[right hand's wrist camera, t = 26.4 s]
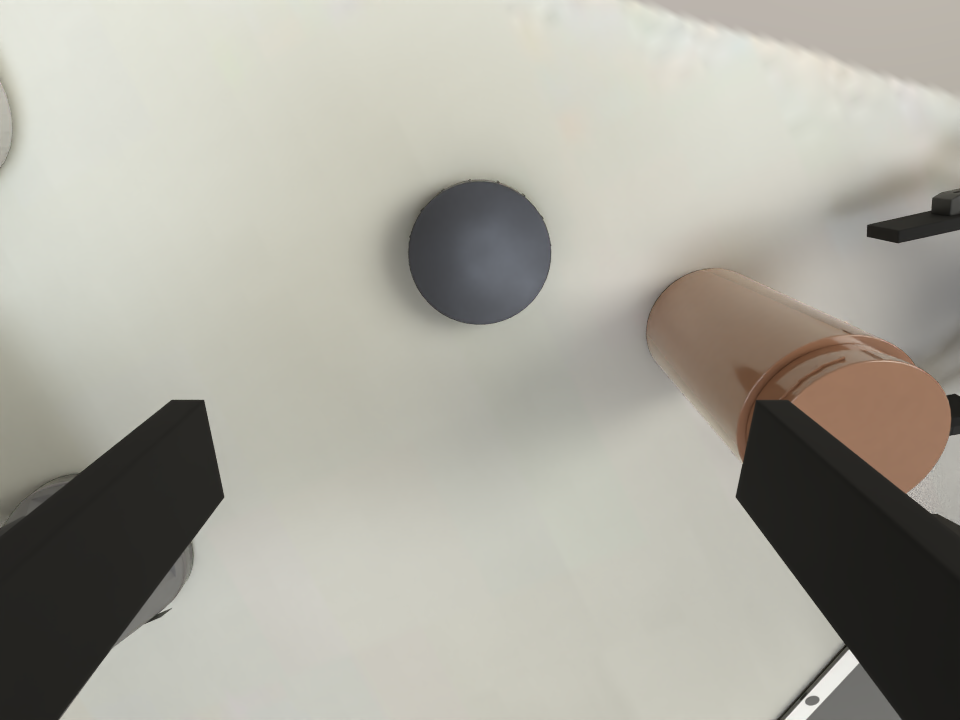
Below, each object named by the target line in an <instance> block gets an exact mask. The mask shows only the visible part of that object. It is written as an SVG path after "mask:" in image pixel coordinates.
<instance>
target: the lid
mask: <svg viewBox="0 0 960 720" xmlns="http://www.w3.org/2000/svg"><path fill="white" fill-rule="evenodd" d="M408 255H409V266H410V270H411V273H412V277H413V280H414V282H415V284H416V286H417V288H418V289H419V291H420V293H421V294H422V296H423V297H424V298H425V299H426V300H427V302H428V303H429V304H430V305H432V306H433V307H434V308H435V309H436V310H438V311H439V312H440V313H442V314H443V315H445V316H447V317H449V318H451V319H454V320H456V321H459V322H463V323H468V324H491V323H496V322H500V321H503V320H506V319H508V318H511V317H512V316H514V315H516V314H518V313H519V312H521V311H522V310H523V309H525V308H526V307H527V306H528V305H529V304H530V303H531V302H532V301H533V300H534V299H535V297H536V296H537V295H538V293H539V292H540V290H541V289H542V287H543V285H544V283H545V280H546V278H547V275H548V272H549V268H550V262H551V244H550V238H549V234H548V231H547V228H546V225H545V223H544V221H543V217H542V216H541V215H540V214H539V212H538V211H537V210H536V208H535V207H534V206H533V205H532V204H531V203H530V202H529V201H528V200H527V199H526V198H525V195H524V194H520V193H519V192H518V191H516V190H514V189H513V188H511V187H509V186H507V185H504V184H502V183H499V181H497V182H495V181H489V180H471V179H469V181H464V182H461V183H458V184H455V185H453V186H451V187H448V188H447V189H443V190H442V192H440V193H439V194H438V195H437V196H435V197H434V198H433V199H432V200H431V201H430V202H429V203H428V204H427V205H426V206H425V208H423V209H422V210H421V213H420V215H419V216H418V218H417V220H416V222H415V224H414V226H413V229H412V232H411V235H410V241H409V250H408Z"/></svg>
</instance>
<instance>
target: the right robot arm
mask: <svg viewBox="0 0 960 720" xmlns="http://www.w3.org/2000/svg"><path fill="white" fill-rule="evenodd" d="M223 498H224V493H223V488H222V484H221V479H220V474H219V469H218V464H217V460H216V455H215V450H214V445H213V440H212V436H211V431H210V426H209V421H208V416H207V412H206V407H205V402H204V400H171V401H170V402H169V403H167V404H166V405H165V406H164V407H162V408H161V409H160V410H159V411H157V412H156V413H155V414H154V415H152V416H151V417H150V418H149V419H147V420H146V421H145V422H144V423H142V424H141V425H140V426H138V427H137V428H136V429H135V430H133V431H132V432H131V433H130V434H128V435H127V436H126V437H125V438H123V439H122V440H121V441H120V442H118V443H117V444H116V445H115V446H113V447H112V448H111V449H110V450H108V451H107V452H106V453H105V454H103V455H102V456H101V457H100V458H98V459H97V460H96V461H95V462H93V463H92V464H91V465H90V466H88V467H87V468H86V469H85V470H83V471H82V472H81V473H79V474H74V475H67V476H63V477H60V478H57V479H54V480H52V481H50V482H48V483H46V484H44V485H43V486H41V487H40V488H39V489H37V490H36V491H35V492H33V493H32V494H31V495H29V496H28V497H27V498H26V499H24V500H23V501H22V502H21V503H20V504H19V505H18V506H17V508H16V509H15V510H14V511H13V513H12V514H11V515H10V517H9V518H8V520H7V521H6V523H5V525H4V526H3V527H1V528H0V720H59V719H60V718H61V717H62V715H63V714H64V713H65V711H66V710H67V709H68V707H69V706H70V704H71V703H72V702H73V700H74V699H75V698H76V696H77V695H78V694H79V692H80V691H81V689H82V688H83V687H84V685H85V684H86V683H87V681H88V680H89V679H90V677H91V676H92V674H93V673H94V672H95V670H96V669H97V668H98V666H99V665H100V663H101V662H102V661H103V659H104V658H105V657H106V656H107V654H108V653H109V652H110V650H111V649H112V648H113V647H114V646H116V645H117V644H118V643H120V642H121V641H122V640H124V639H125V638H126V637H128V636H129V635H130V634H132V633H133V632H134V631H136V630H137V629H138V628H139V627H141V626H142V625H143V624H146V623H148V622H150V621H153V620H155V619H157V618H160V617H162V616H163V615H164V614H165V613H167V612H168V611H169V610H170V609H169V610H166V611H164V612H162V613H159V612H161V611H162V610H163V609H164V608H165V607H166V606H167V605H168V604H169V603H170V602H172V600H173V599H174V598H175V597H176V596H177V594H178V593H179V591H180V590H181V588H182V587H183V585H184V584H185V582H186V581H187V579H188V577H189V575H190V572H191V569H192V564H193V550H192V545H191V541H192V540H193V538H194V537H195V536H196V534H197V533H198V532H199V530H200V529H201V528H202V526H203V525H204V524H205V522H206V521H207V520H208V518H209V517H210V516H211V514H212V513H213V512H214V510H215V509H216V508H217V506H218V505H219V504H220V502H221V501H222V500H223ZM736 498H737V500H738V501H739V502H740V504H741V505H742V506H743V508H744V509H745V510H746V512H747V513H748V514H749V516H750V517H751V518H752V520H753V521H754V522H755V524H756V525H757V526H758V528H759V529H760V530H761V532H762V533H763V534H764V536H765V537H766V538H767V540H768V541H769V542H770V544H771V545H772V546H773V548H774V549H775V550H776V552H777V553H778V555H779V556H780V557H781V559H782V560H783V561H784V563H785V564H786V565H787V567H788V568H789V569H790V571H791V572H792V573H793V575H794V576H795V577H796V579H797V580H798V581H799V583H800V584H801V585H802V587H803V588H804V589H805V591H806V592H807V593H808V595H809V596H810V597H811V599H812V600H813V601H814V603H815V604H816V605H817V607H818V608H819V609H820V611H821V612H822V613H823V615H824V616H825V618H826V619H827V620H828V622H829V623H830V624H831V626H832V627H833V628H834V630H835V631H836V632H837V634H838V635H839V636H840V638H841V639H842V640H843V642H844V643H845V644H846V646H847V647H848V648H849V650H850V651H851V652H852V654H853V655H854V656H855V658H856V659H857V660H858V662H859V663H860V664H861V666H862V667H863V668H864V670H865V671H866V672H867V674H868V675H869V676H870V678H871V679H872V681H873V682H874V683H875V685H876V686H877V687H878V689H879V690H880V691H881V693H882V694H883V695H884V697H885V698H886V699H887V701H888V702H889V703H890V705H891V706H892V707H893V709H894V710H895V711H896V713H897V714H898V715H899V717H900V718H901V719H902V720H960V526H959V525H957V524H956V523H954V522H952V521H950V520H948V519H946V518H944V517H942V516H940V515H938V514H931V513H929V512H928V511H927V510H926V509H924V508H923V507H922V506H921V505H919V504H918V503H917V502H916V501H914V500H913V499H912V498H911V497H909V496H908V495H907V494H906V493H904V492H903V491H902V490H901V489H899V488H898V487H897V486H896V485H894V484H893V483H892V482H891V481H889V480H888V479H887V478H886V477H884V476H883V475H882V474H881V473H879V472H878V471H877V470H875V469H874V468H873V467H872V466H870V465H869V464H868V463H867V462H865V461H864V460H863V459H862V458H860V457H859V456H858V455H857V454H855V453H854V452H853V451H852V450H850V449H849V448H848V447H847V446H845V445H844V444H843V443H842V442H840V441H839V440H838V439H837V438H835V437H834V436H833V435H832V434H830V433H829V432H828V431H827V430H825V429H824V428H823V427H822V426H820V425H819V424H818V423H816V422H815V421H814V420H813V419H811V418H810V417H809V416H808V415H806V414H805V413H804V412H803V411H801V410H800V409H799V408H798V407H796V406H795V405H794V404H793V403H791V402H790V401H789V400H756V402H755V407H754V412H753V416H752V421H751V426H750V431H749V436H748V440H747V445H746V450H745V455H744V460H743V464H742V469H741V474H740V479H739V484H738V488H737V493H736ZM171 609H172V608H171ZM158 613H159V614H158Z"/></svg>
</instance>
